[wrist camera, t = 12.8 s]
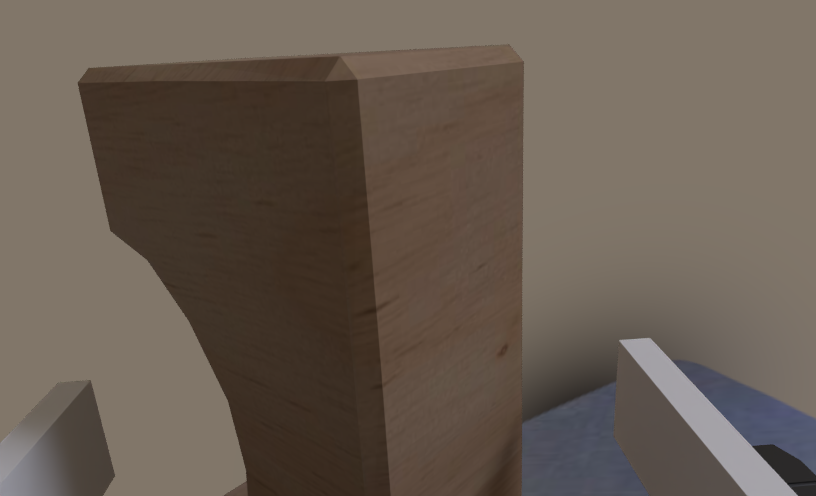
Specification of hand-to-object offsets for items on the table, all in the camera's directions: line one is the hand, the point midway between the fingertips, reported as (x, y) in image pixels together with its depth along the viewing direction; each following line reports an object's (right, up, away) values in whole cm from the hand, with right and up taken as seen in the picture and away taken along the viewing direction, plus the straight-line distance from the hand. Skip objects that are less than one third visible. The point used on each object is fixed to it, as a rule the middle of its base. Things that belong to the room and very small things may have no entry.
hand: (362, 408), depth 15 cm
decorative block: (-1, -11, +6) cm, 12 cm away
